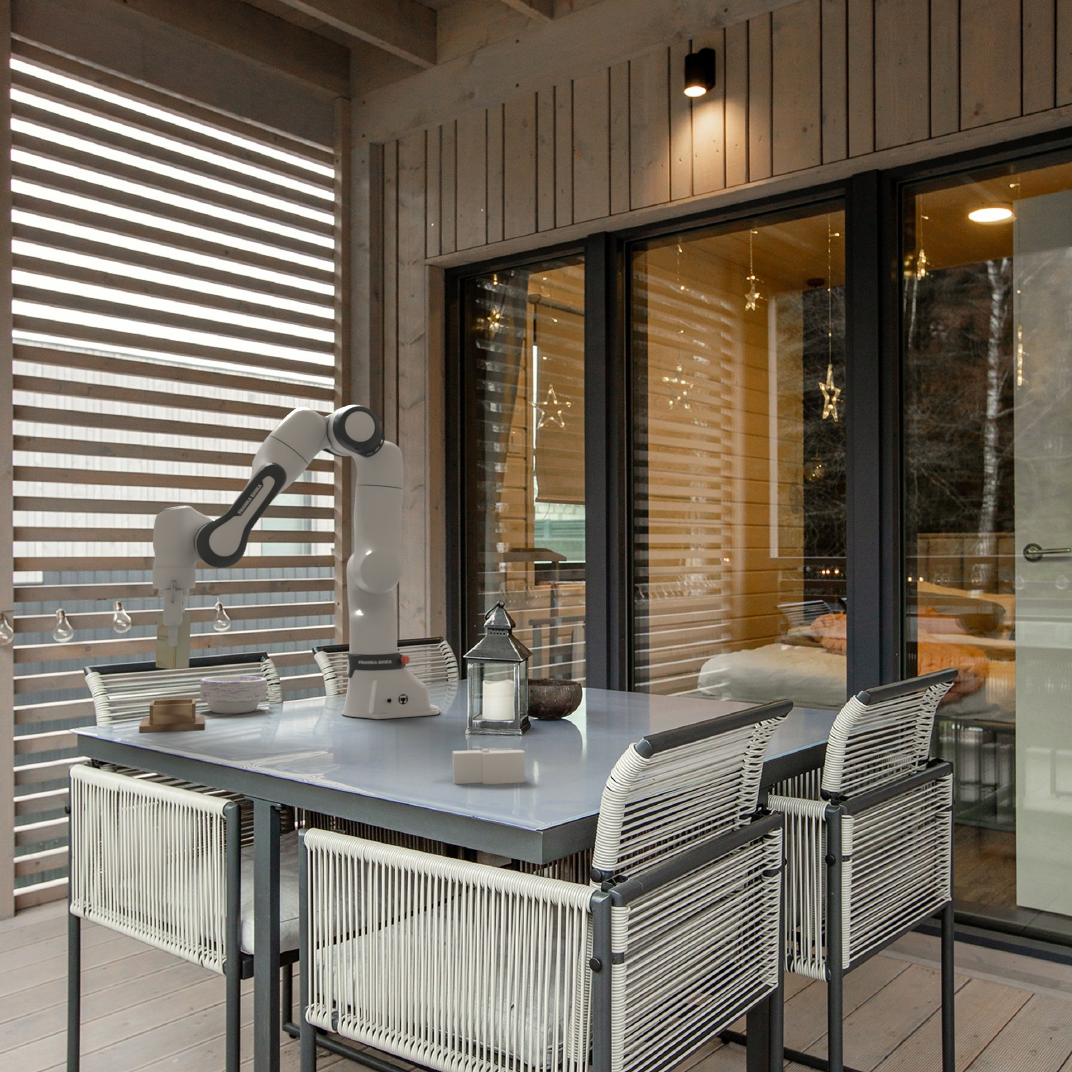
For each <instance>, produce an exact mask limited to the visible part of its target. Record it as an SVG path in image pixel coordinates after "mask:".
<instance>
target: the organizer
mask: <svg viewBox="0 0 1072 1072" xmlns="http://www.w3.org/2000/svg"><path fill="white" fill-rule="evenodd" d="M196 701H197V699H196V698H176V699H175V698H174V699H173V698H172V699H170V698H169V699H153V700H152V699H151V701H150V704H149V716H148V717H144V716H143V717H142V718H141V721H140V724H139V727H138V730H139V731H138V732H139V733H153V732H154V733H155V732H174V731H175V732H177V731H179V732H180V731H197V730H205V725H206V723H205V721H206V720H205V717H206V715H205V714H196V711H197V709H196V707H197V706H196V705H197V702H196Z"/></svg>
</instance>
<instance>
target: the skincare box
mask: <svg viewBox="0 0 1072 1072" xmlns="http://www.w3.org/2000/svg"><path fill="white" fill-rule="evenodd" d="M191 618H192V612H189V611H185V612H183V613H182V623H181V625H178V641H177V646H169V644H168V626H166V625H164V623H163V611H157V625H156V627H157V628H156V646H155V647H156V648H155V649H156V651H155V668H161V669H167V670H180V669H188V668H190V648H191V647H190V645H191V643H190V642H191V624H192V623H191V622H192V620H191Z"/></svg>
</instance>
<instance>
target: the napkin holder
mask: <svg viewBox="0 0 1072 1072" xmlns="http://www.w3.org/2000/svg"><path fill="white" fill-rule="evenodd" d="M451 752H452V753H451V755H452V756H451V759H452V761H451V762H452V765H451V766H452V769H451V770H452V771H451V772H452V774H451V775H452V778H451V779H452V780H451V781H452V783H453V784H454V785H457V784H458V785H460V784H481V783H482V784H483V785H490V784H491V785H494V784H513V783H516V784H517V783H525V782H526V751H524V750H523V749H510V750H509V749H508V750H507V749H506V750H490V749H489V748H483V749H481V750H480V749H476V750H475V749H474V750H453V751H451Z"/></svg>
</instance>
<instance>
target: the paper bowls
mask: <svg viewBox="0 0 1072 1072" xmlns="http://www.w3.org/2000/svg"><path fill="white" fill-rule="evenodd" d="M267 681H268V680H267V678H266V677H262V676H253V675H222V676H221V675H219V676H218V675H217V676H211V677H210V676H209V677H204V678H201V679H200V687H199V688H200V689H199V693H200V694H199V699H200V700H201V701H205V702H206V703H207V705H208V708H209V709H210V711H211V712H213V713H216V714H221V715H222V714H224V715H236V714H247V713H251V712H253V711H256V709H257V708H258V705H259V703H260V701H263V700H266V699H267V688H268V687H267V684H268V682H267Z"/></svg>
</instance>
